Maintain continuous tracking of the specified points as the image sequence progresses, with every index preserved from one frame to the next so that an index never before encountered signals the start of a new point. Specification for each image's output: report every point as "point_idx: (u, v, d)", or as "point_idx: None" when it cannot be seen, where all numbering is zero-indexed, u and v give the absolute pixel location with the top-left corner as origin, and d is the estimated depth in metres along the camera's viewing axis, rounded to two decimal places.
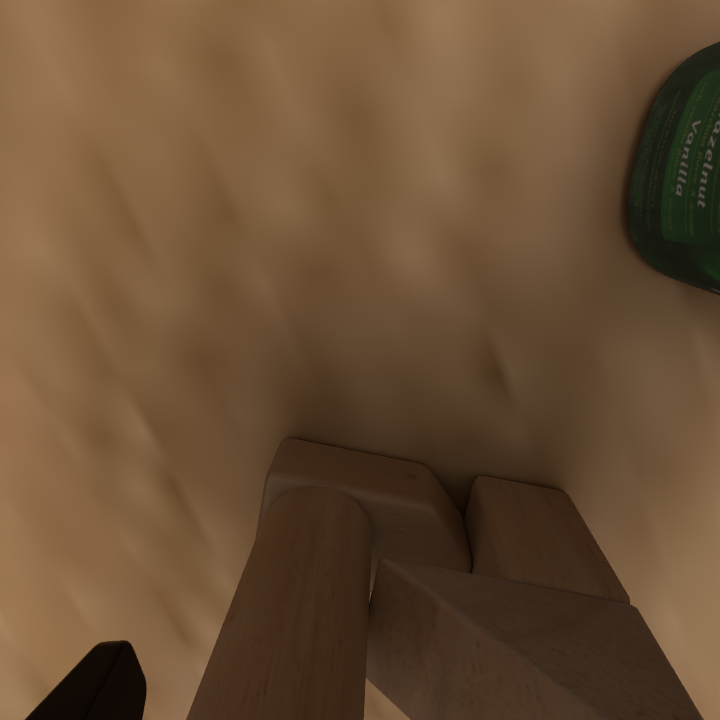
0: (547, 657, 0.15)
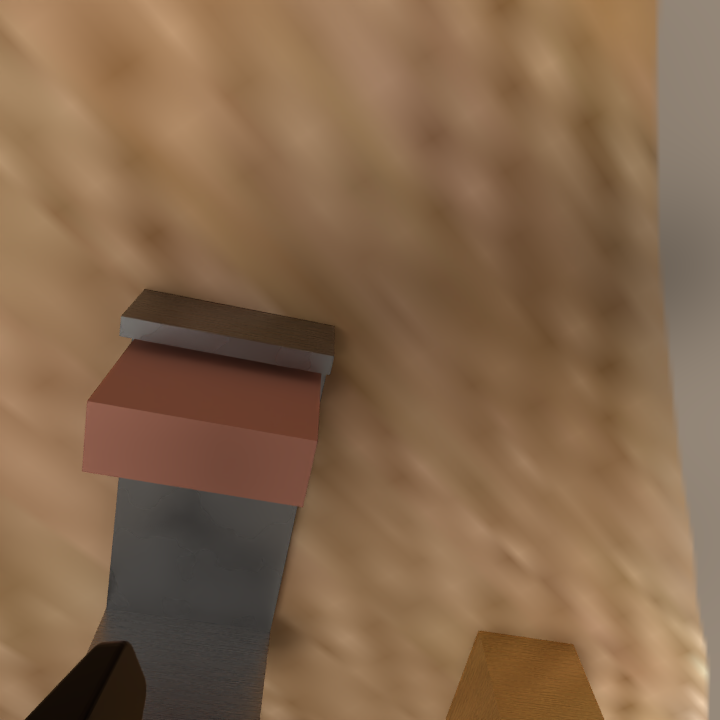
0: None
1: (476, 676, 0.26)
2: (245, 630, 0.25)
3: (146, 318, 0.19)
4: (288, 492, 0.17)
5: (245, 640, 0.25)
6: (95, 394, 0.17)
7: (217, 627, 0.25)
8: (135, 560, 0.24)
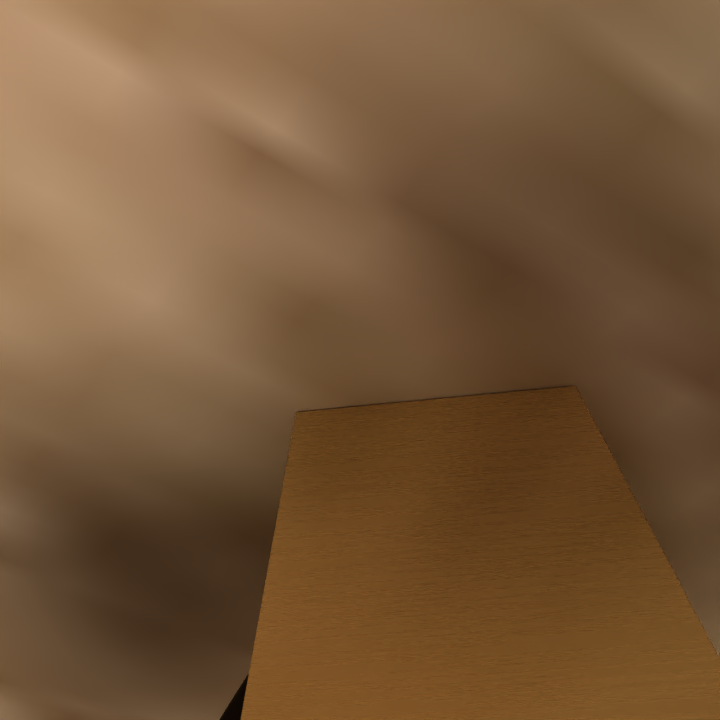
0: None
1: None
2: None
3: None
4: None
5: None
6: None
7: None
8: None
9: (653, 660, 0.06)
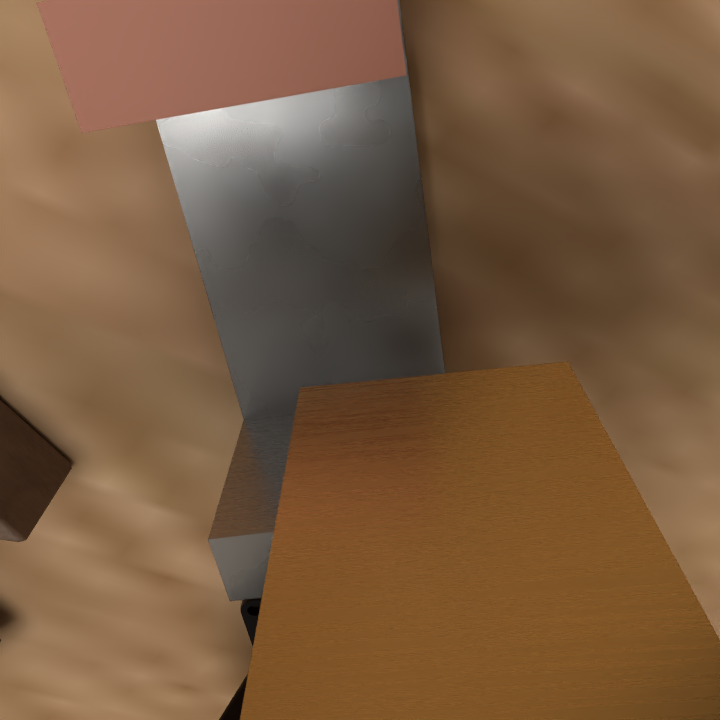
0: None
1: None
2: None
3: None
4: (375, 55, 0.11)
5: None
6: (50, 1, 0.11)
7: None
8: (252, 345, 0.19)
9: (636, 601, 0.06)
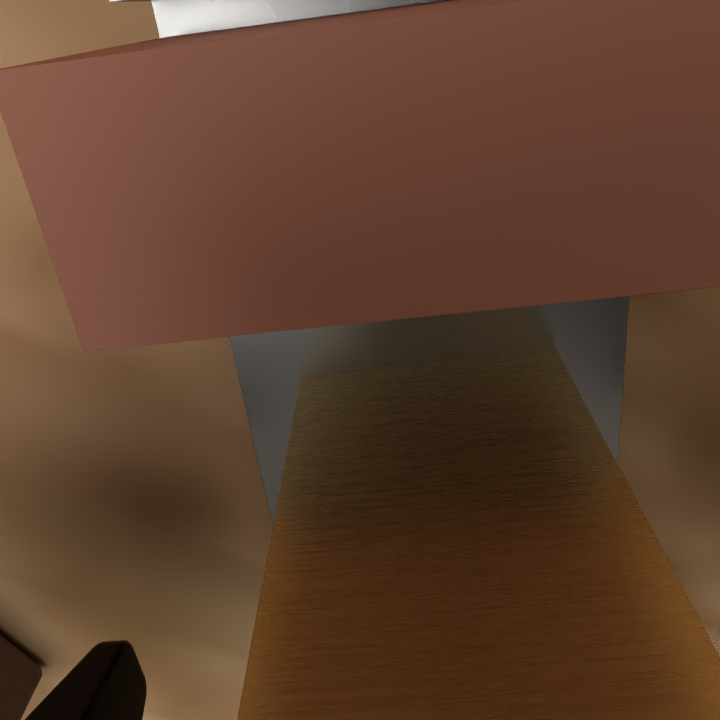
0: None
1: None
2: None
3: None
4: None
5: None
6: None
7: None
8: None
9: (615, 570, 0.07)
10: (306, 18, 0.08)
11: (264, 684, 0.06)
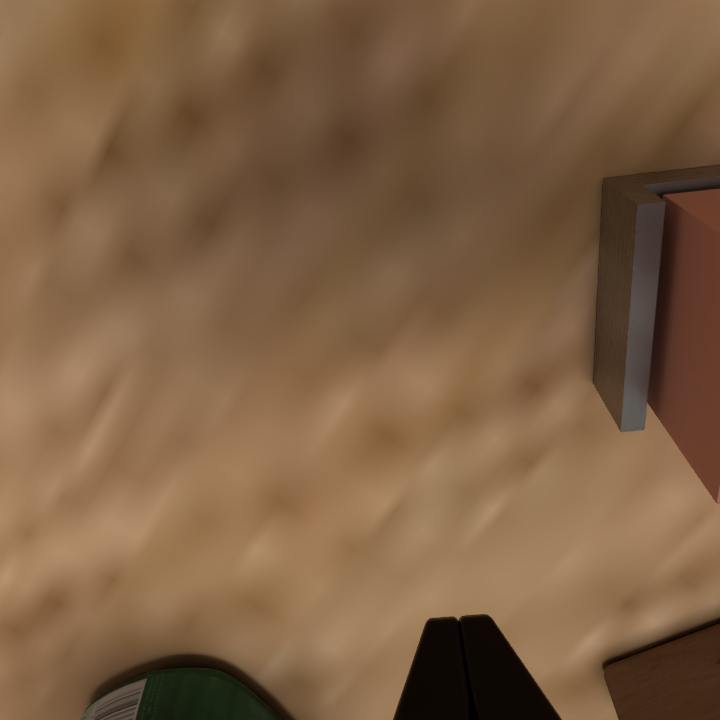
0: None
1: None
2: None
3: (619, 406, 0.18)
4: None
5: None
6: (709, 490, 0.15)
7: None
8: None
9: None
10: None
11: None
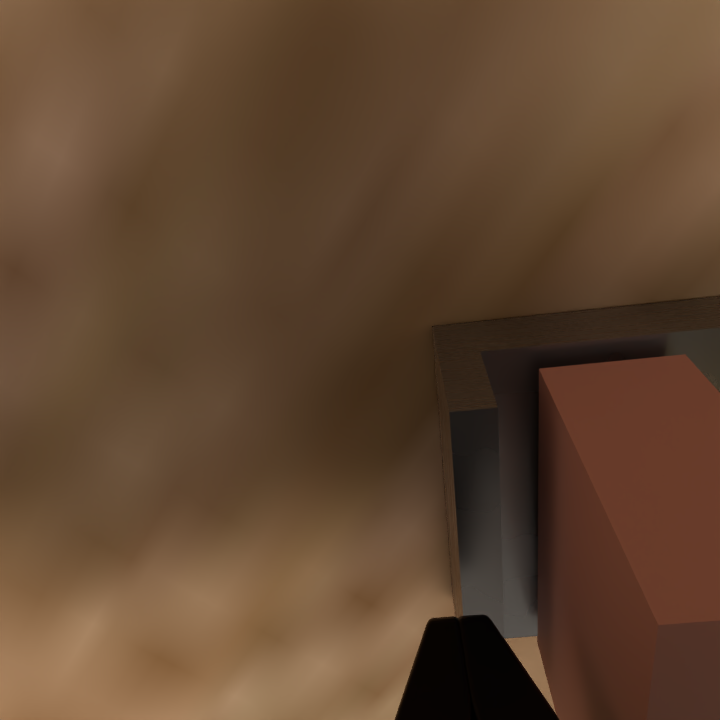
0: None
1: None
2: None
3: None
4: None
5: None
6: None
7: None
8: None
9: None
10: (539, 581, 0.11)
11: None
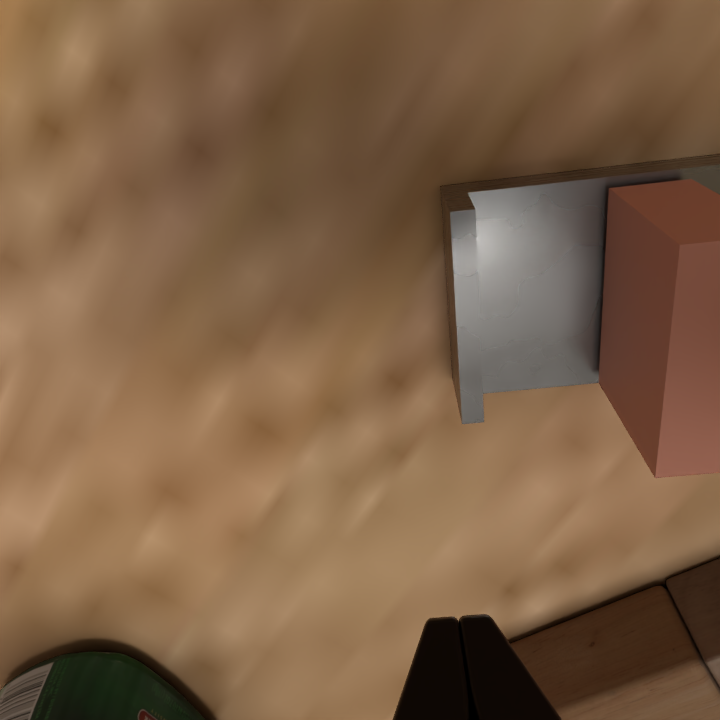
0: None
1: None
2: None
3: (460, 400, 0.19)
4: None
5: None
6: (649, 466, 0.16)
7: None
8: None
9: None
10: (603, 332, 0.19)
11: None
